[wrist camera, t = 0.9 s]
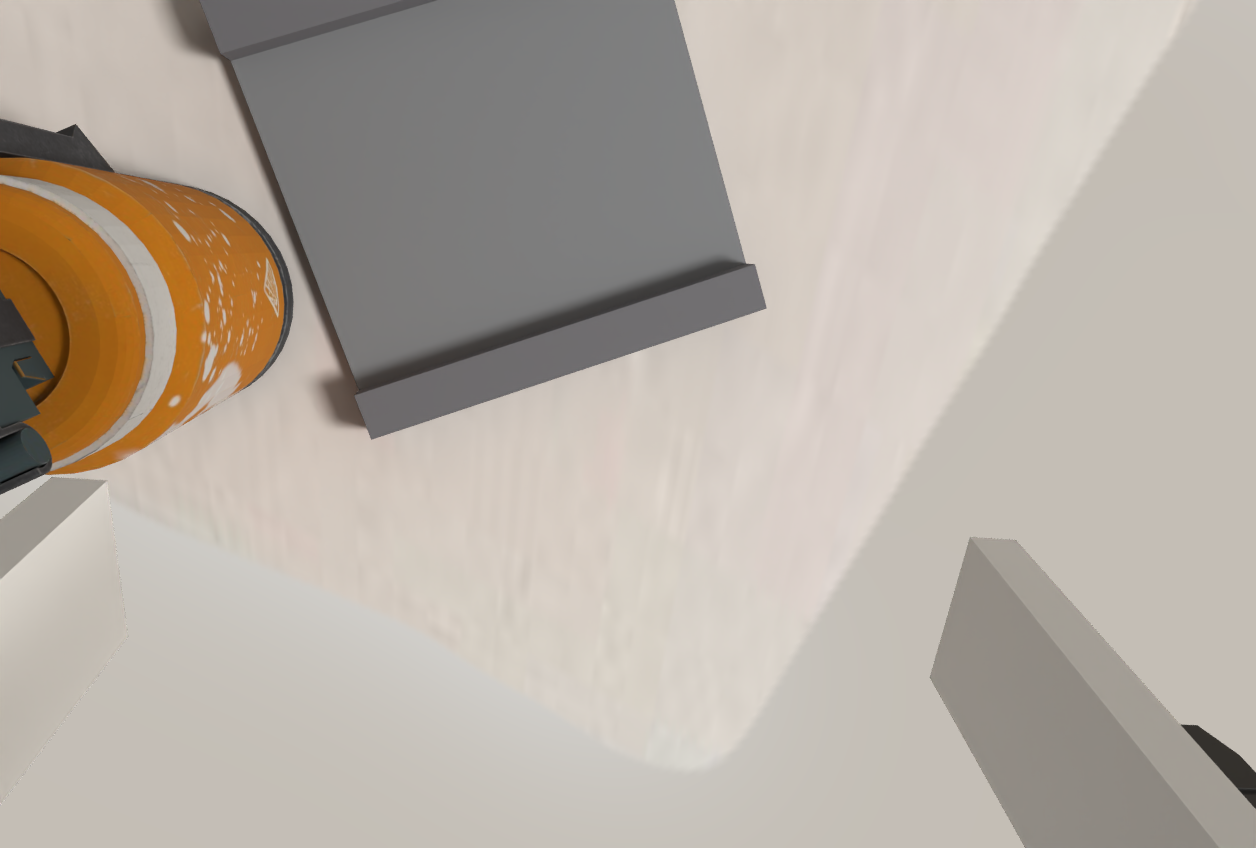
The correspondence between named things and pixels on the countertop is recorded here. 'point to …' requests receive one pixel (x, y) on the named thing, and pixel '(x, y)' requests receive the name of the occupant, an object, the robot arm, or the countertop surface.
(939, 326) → the countertop surface
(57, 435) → the canister
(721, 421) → the countertop surface
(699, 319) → the tray
